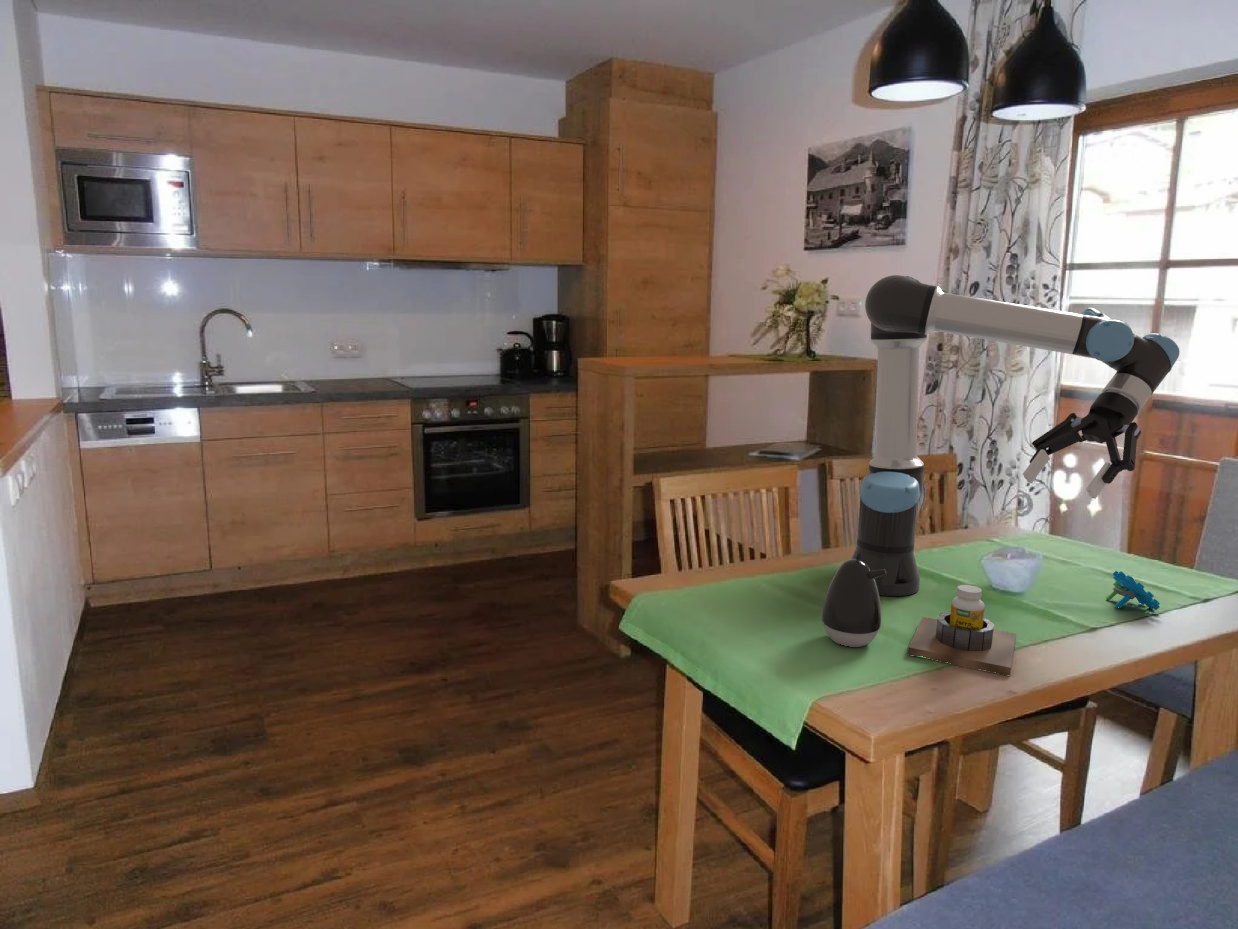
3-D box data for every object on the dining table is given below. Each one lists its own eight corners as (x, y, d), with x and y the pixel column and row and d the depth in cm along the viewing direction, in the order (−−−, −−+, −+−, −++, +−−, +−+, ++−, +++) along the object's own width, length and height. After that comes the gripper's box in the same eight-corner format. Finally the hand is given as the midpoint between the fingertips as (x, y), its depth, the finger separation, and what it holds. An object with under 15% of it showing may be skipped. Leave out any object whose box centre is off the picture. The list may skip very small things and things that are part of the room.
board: (907, 655, 144) (908, 647, 143) (921, 624, 157) (922, 616, 157) (1009, 676, 136) (1010, 667, 136) (1015, 641, 150) (1016, 633, 150)
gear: (1172, 610, 162) (1137, 573, 162) (1149, 631, 163) (1114, 594, 162) (1138, 598, 173) (1106, 563, 173) (1116, 617, 174) (1084, 582, 173)
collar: (932, 644, 145) (934, 625, 144) (939, 626, 153) (941, 608, 152) (989, 655, 141) (991, 635, 140) (993, 636, 148) (995, 618, 148)
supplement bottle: (979, 636, 148) (985, 585, 146) (982, 648, 143) (988, 595, 141) (946, 632, 150) (952, 581, 148) (948, 644, 145) (954, 591, 143)
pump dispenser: (871, 658, 142) (878, 573, 139) (812, 644, 147) (817, 562, 144) (887, 638, 151) (894, 557, 148) (830, 625, 156) (836, 547, 153)
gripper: (1192, 425, 153) (1128, 513, 150) (1069, 407, 175) (1011, 484, 172) (1178, 397, 149) (1112, 488, 146) (1054, 383, 171) (994, 461, 168)
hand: (1057, 486), depth 159 cm, fingers open, 13 cm apart
